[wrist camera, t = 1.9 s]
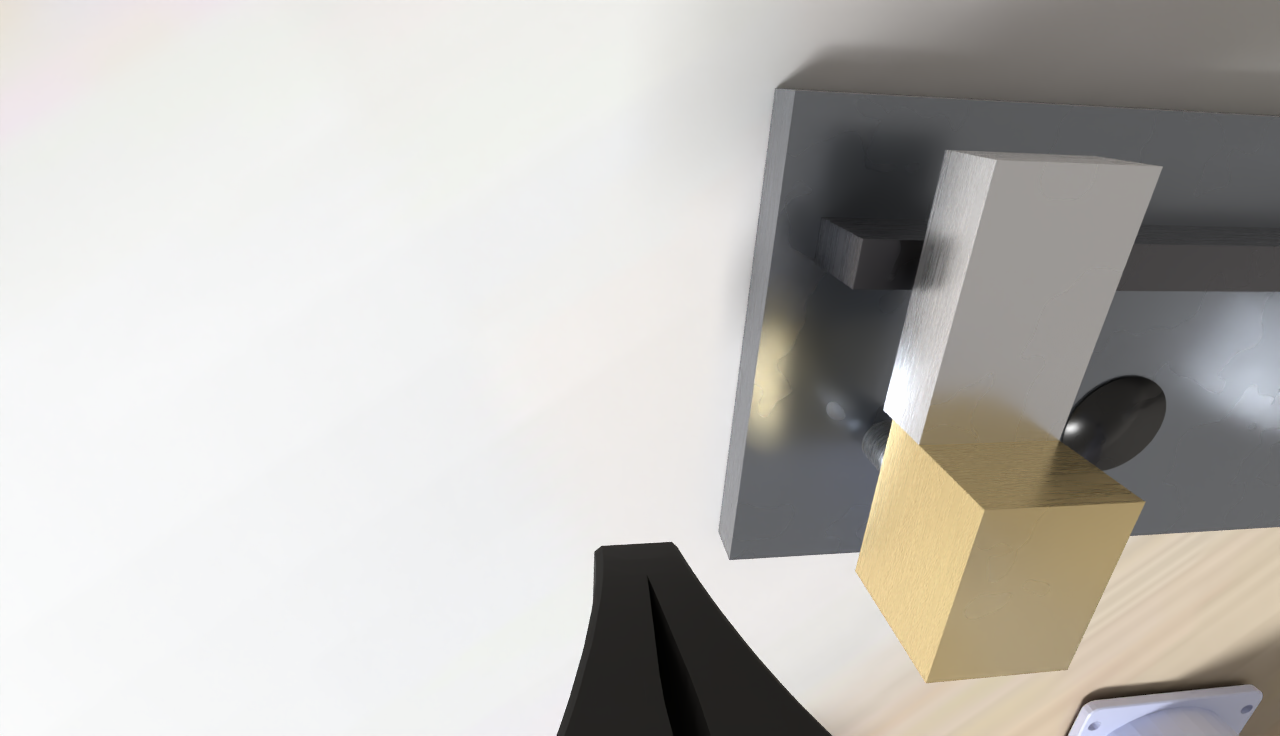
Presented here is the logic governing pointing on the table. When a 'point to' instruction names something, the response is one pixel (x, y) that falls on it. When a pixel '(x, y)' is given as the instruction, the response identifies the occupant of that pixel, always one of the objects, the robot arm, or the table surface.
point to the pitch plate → (1121, 360)
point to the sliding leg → (1001, 417)
